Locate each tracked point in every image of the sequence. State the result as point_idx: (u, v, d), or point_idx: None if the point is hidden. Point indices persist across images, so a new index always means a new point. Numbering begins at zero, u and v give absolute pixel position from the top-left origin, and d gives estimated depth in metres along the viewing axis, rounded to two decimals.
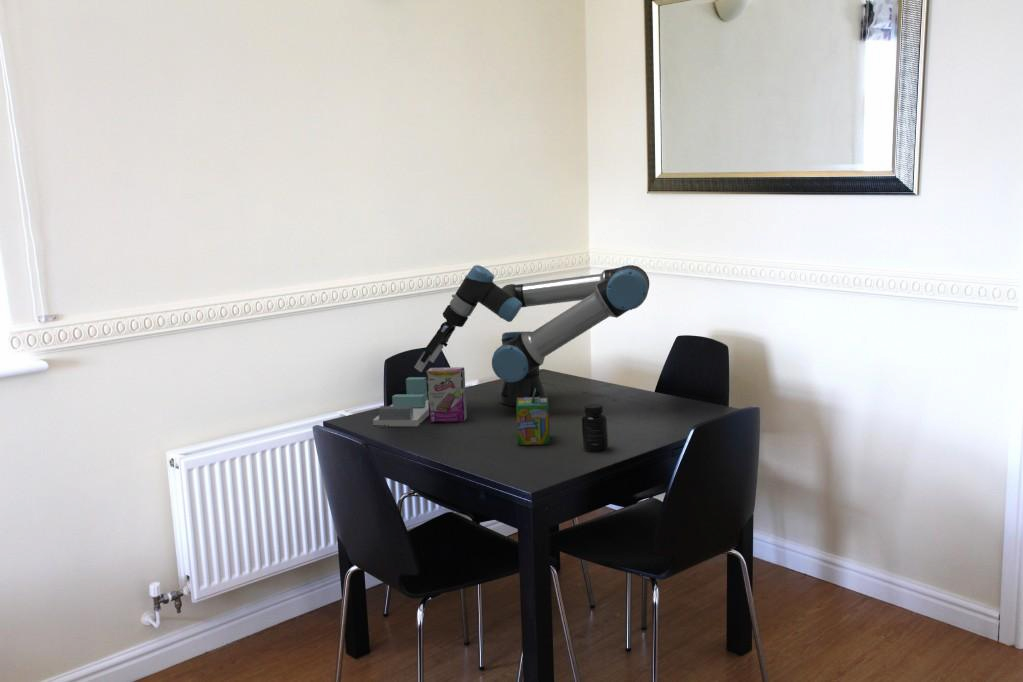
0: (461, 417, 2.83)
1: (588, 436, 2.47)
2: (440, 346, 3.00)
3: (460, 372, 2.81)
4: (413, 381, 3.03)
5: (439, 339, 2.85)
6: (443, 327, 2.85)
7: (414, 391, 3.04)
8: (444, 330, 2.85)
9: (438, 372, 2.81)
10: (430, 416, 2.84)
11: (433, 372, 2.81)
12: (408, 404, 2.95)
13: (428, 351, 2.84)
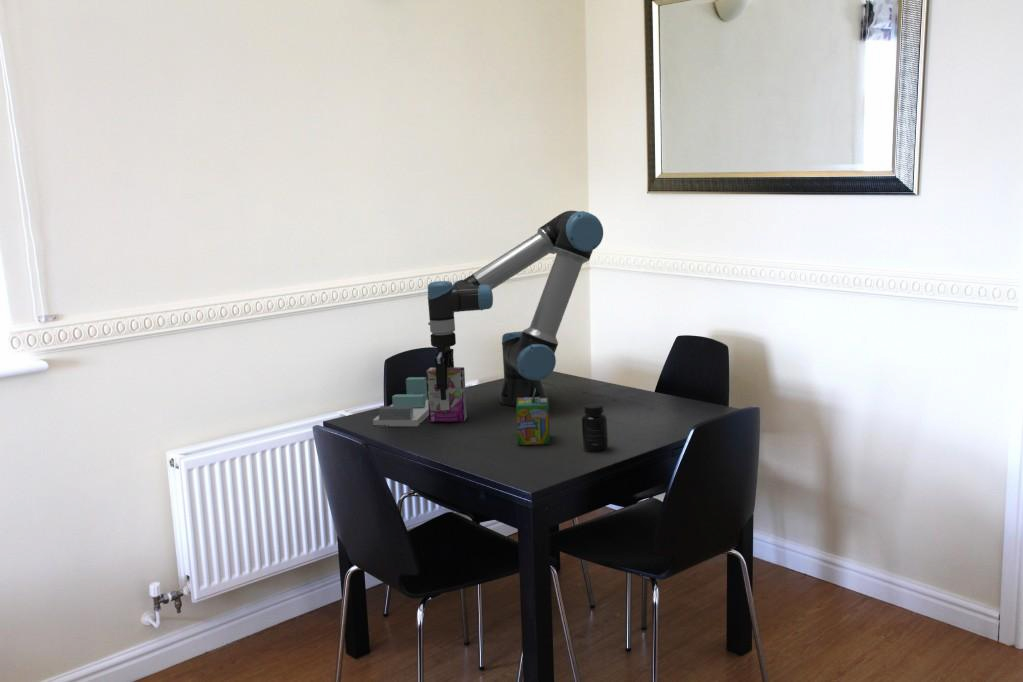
0: (461, 417, 2.83)
1: (588, 436, 2.47)
2: None
3: (460, 372, 2.81)
4: (413, 381, 3.03)
5: (442, 371, 2.77)
6: (437, 359, 2.76)
7: (414, 391, 3.04)
8: (440, 361, 2.76)
9: None
10: (430, 416, 2.84)
11: (433, 372, 2.81)
12: (408, 404, 2.95)
13: (441, 387, 2.78)
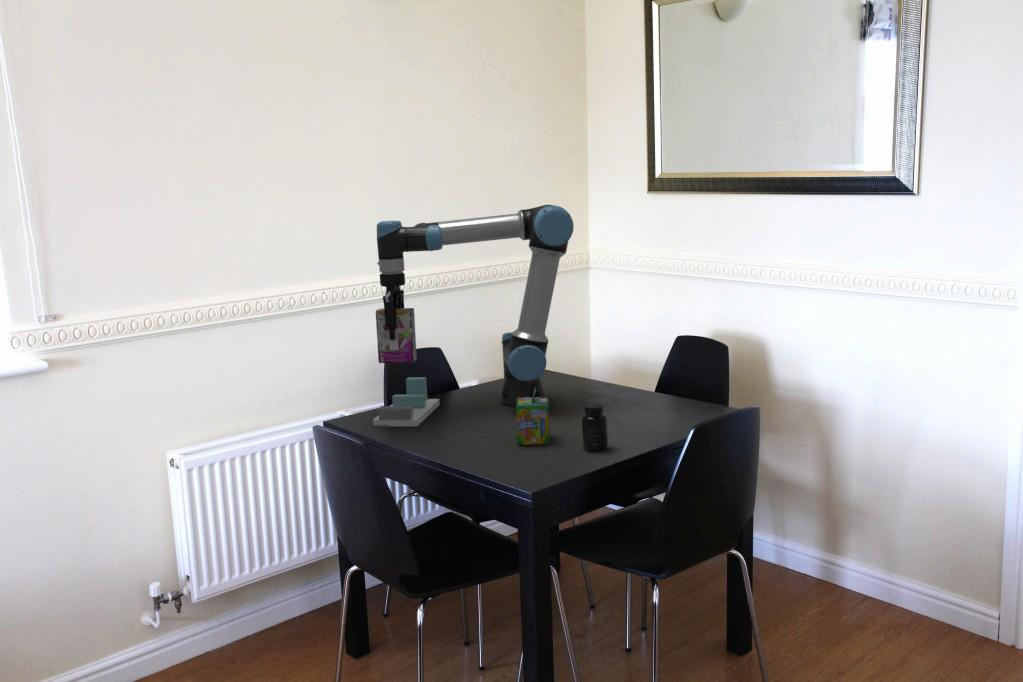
0: (411, 357, 2.83)
1: (588, 436, 2.47)
2: None
3: (409, 312, 2.80)
4: (413, 381, 3.03)
5: (390, 310, 2.76)
6: (385, 298, 2.76)
7: (414, 391, 3.04)
8: (388, 300, 2.76)
9: None
10: (379, 356, 2.84)
11: (382, 312, 2.81)
12: (408, 404, 2.95)
13: (389, 326, 2.77)
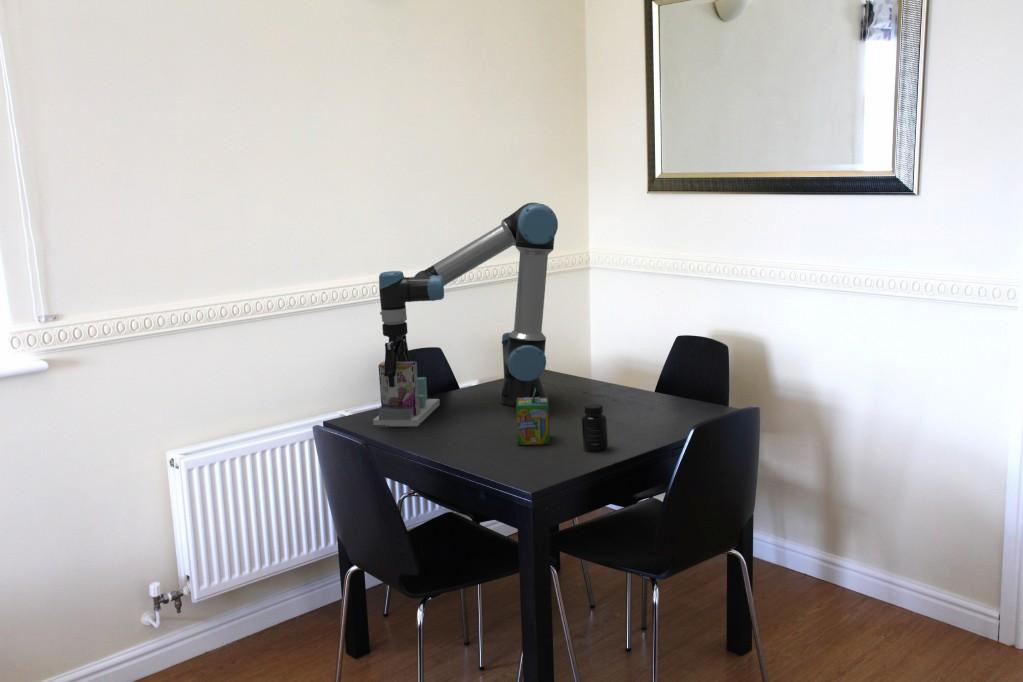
0: (413, 411, 2.85)
1: (588, 436, 2.47)
2: None
3: (411, 366, 2.83)
4: None
5: (391, 357, 2.78)
6: (387, 345, 2.78)
7: None
8: (390, 346, 2.78)
9: None
10: None
11: None
12: None
13: (388, 373, 2.77)
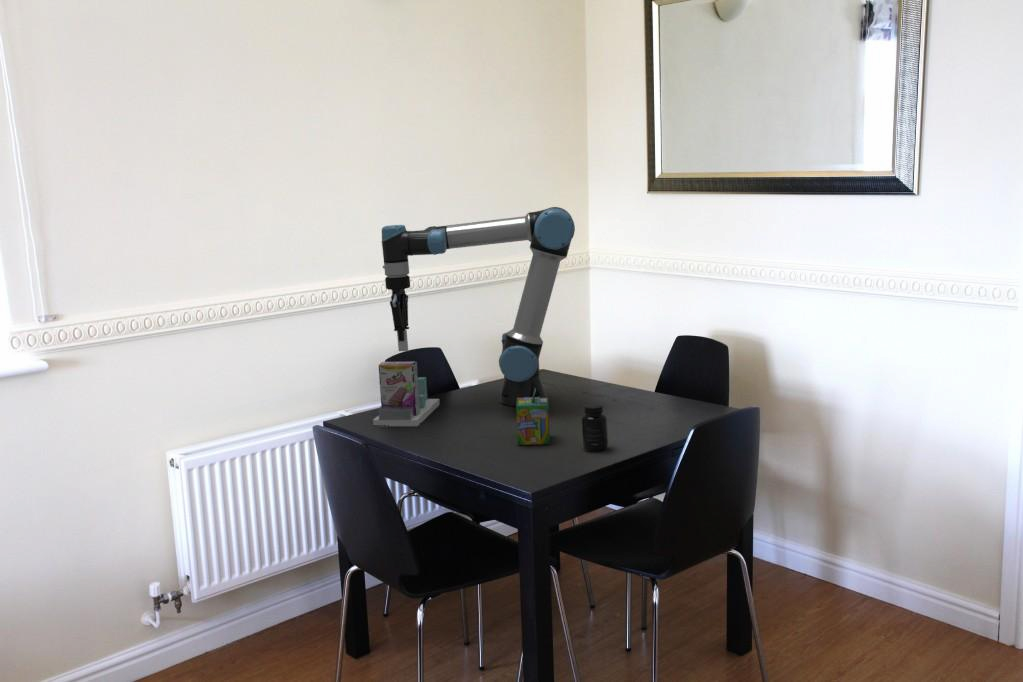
0: (413, 411, 2.85)
1: (588, 436, 2.47)
2: None
3: (411, 366, 2.83)
4: None
5: (398, 314, 2.84)
6: (392, 303, 2.82)
7: None
8: (395, 305, 2.82)
9: (390, 366, 2.84)
10: None
11: (385, 366, 2.84)
12: None
13: (399, 329, 2.86)
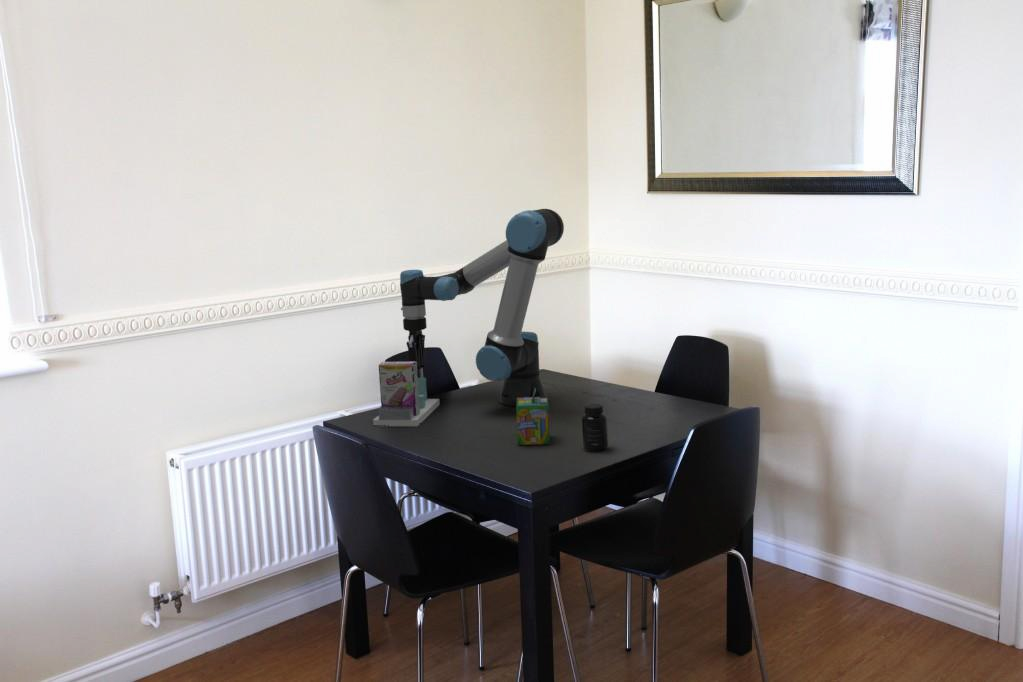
0: (413, 411, 2.85)
1: (588, 436, 2.47)
2: None
3: (411, 366, 2.83)
4: None
5: (414, 354, 3.01)
6: (409, 344, 2.99)
7: None
8: (411, 345, 2.99)
9: (390, 366, 2.84)
10: None
11: (385, 366, 2.84)
12: None
13: None
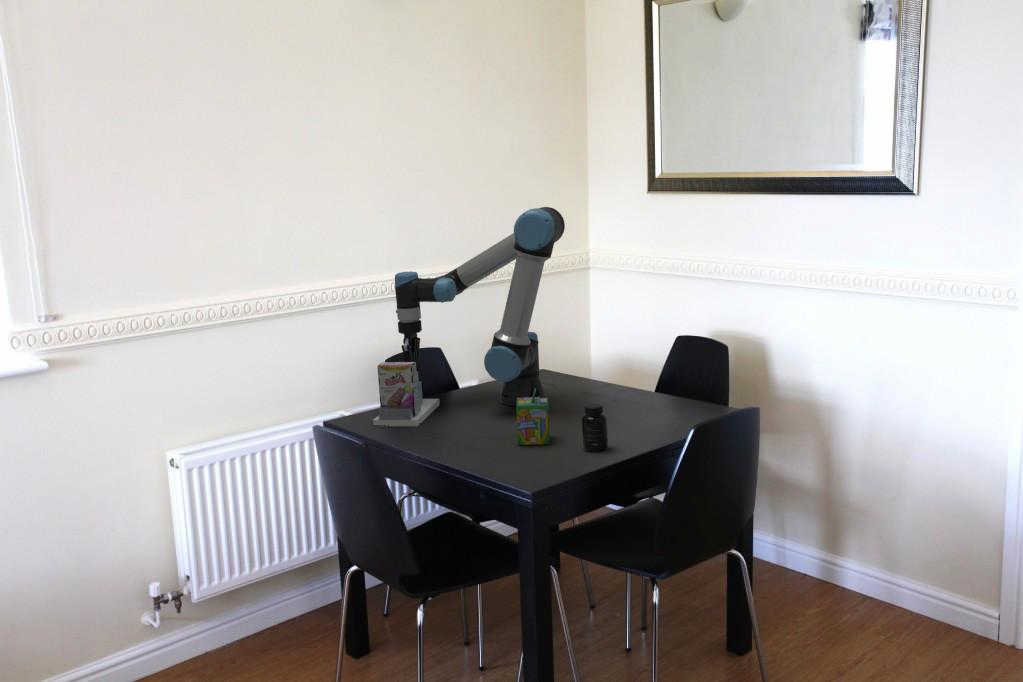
0: None
1: (588, 436, 2.47)
2: None
3: (410, 367, 2.82)
4: None
5: (409, 357, 2.96)
6: (404, 348, 2.94)
7: None
8: (407, 349, 2.94)
9: (389, 367, 2.83)
10: None
11: (384, 366, 2.83)
12: None
13: None
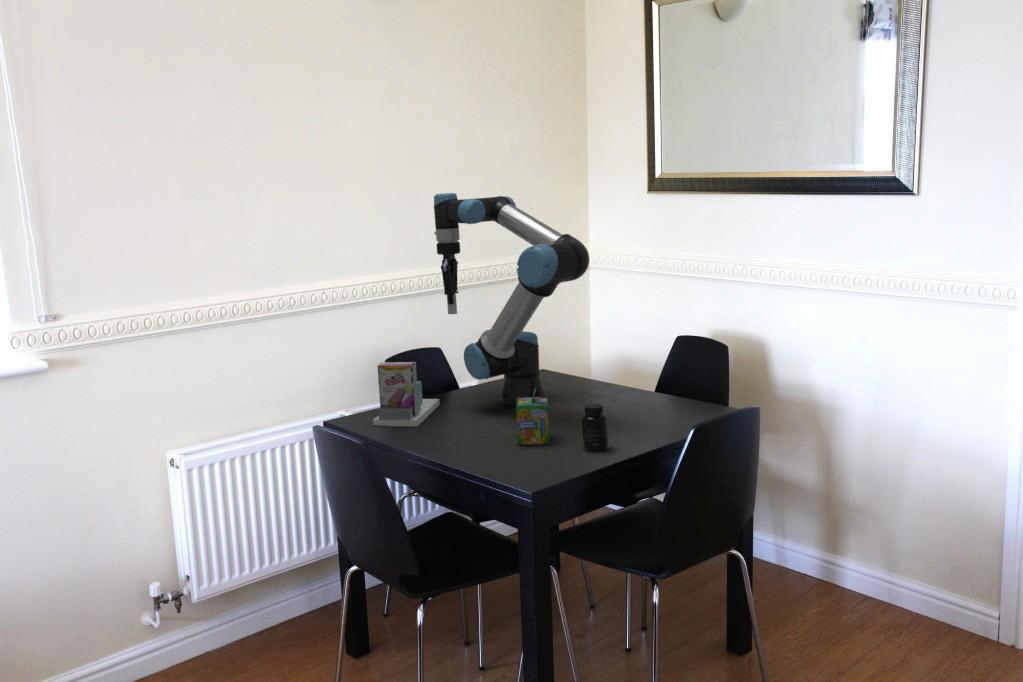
0: None
1: (588, 436, 2.47)
2: None
3: (410, 367, 2.82)
4: None
5: (448, 278, 2.98)
6: (443, 267, 2.96)
7: None
8: (446, 269, 2.96)
9: (389, 367, 2.83)
10: None
11: (384, 366, 2.83)
12: None
13: (448, 292, 3.00)
